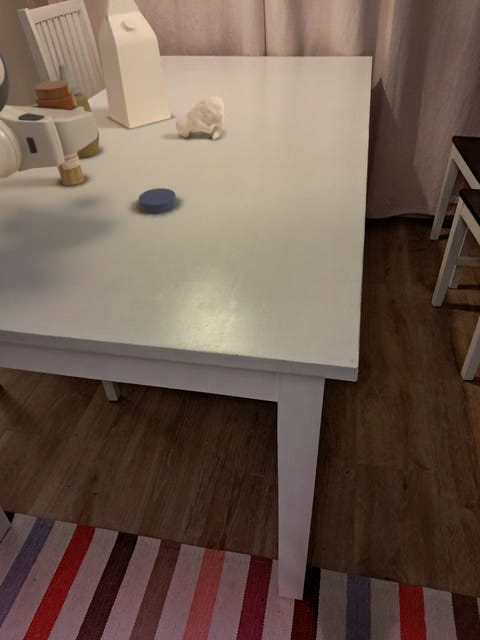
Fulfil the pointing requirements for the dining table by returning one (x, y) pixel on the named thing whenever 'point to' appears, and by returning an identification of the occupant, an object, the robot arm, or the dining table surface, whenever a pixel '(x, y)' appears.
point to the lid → (157, 200)
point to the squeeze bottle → (83, 102)
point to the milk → (132, 66)
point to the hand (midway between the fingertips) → (62, 109)
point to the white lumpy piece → (203, 117)
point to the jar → (54, 95)
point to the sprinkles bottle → (71, 170)
